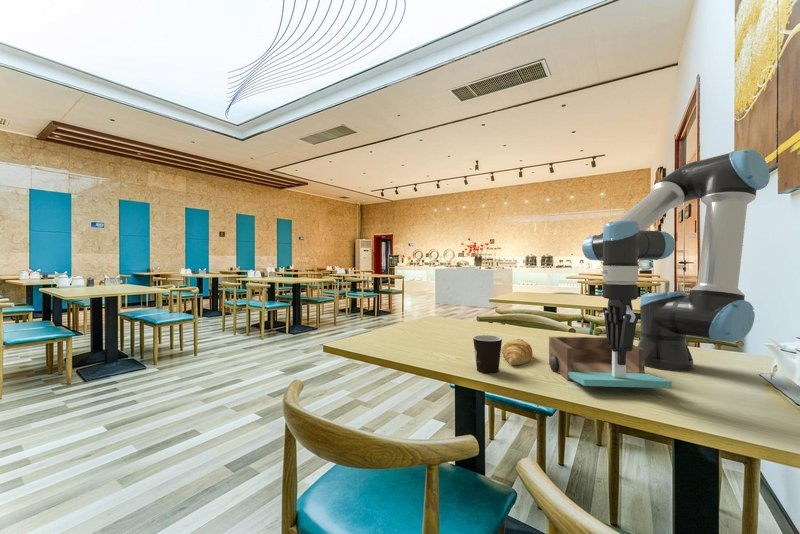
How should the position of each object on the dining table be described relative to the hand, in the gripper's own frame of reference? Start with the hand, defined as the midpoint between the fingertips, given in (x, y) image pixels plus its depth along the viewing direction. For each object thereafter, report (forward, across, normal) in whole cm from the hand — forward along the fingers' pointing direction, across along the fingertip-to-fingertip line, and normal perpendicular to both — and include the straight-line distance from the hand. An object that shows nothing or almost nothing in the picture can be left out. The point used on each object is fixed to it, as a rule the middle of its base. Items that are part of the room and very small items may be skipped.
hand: (618, 376), depth 88 cm
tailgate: (+2, -7, 0) cm, 7 cm away
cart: (+4, -16, 0) cm, 16 cm away
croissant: (+5, -29, -19) cm, 35 cm away
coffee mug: (+5, -16, -30) cm, 34 cm away
